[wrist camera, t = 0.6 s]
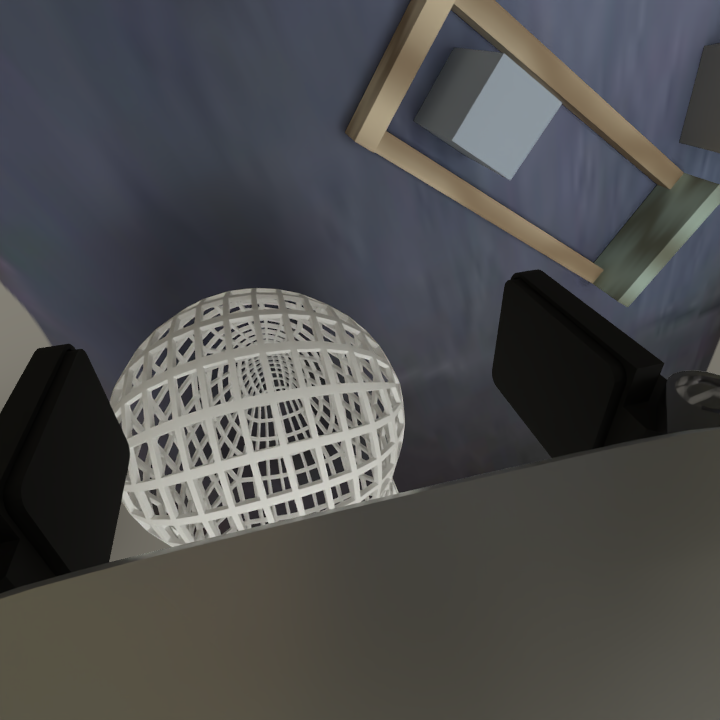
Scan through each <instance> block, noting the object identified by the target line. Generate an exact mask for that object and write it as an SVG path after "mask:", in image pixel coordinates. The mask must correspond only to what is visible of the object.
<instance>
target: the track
mask: <svg viewBox="0 0 720 720" xmlns="http://www.w3.org/2000/svg"><path fill="white" fill-rule="evenodd" d="M450 10H452V11H453V12H454V13H456V14H457V15H458V16H459V17H460V18H461V19H463V20H464V21H465V22H466V23H467V24H469V25H470V26H471V27H472V28H473V29H474V30H476V31H477V32H478V33H479V34H480V35H481V36H483V37H484V38H485V39H486V40H487V41H489V42H490V43H491V44H492V45H493V46H494V47H496V48H497V49H498V50H499V51H500V52H502V53H504V54H506V55H507V56H508V57H509V58H510V59H511V60H513V61H514V62H515V63H516V64H517V65H518V66H520V67H521V68H522V69H523V70H524V71H526V72H527V73H528V74H529V75H530V76H531V77H533V78H534V79H535V80H536V81H537V82H538V83H540V84H541V85H542V86H543V87H544V88H546V89H547V90H548V91H549V92H550V93H551V94H553V95H554V96H555V97H556V98H557V99H558V100H560V101H561V102H562V104H563V105H564V106H565V107H566V108H568V109H569V110H570V111H571V112H572V113H573V114H575V115H576V116H577V117H578V118H579V119H580V120H582V121H583V122H584V123H585V124H586V125H588V126H589V127H590V128H591V129H592V130H593V131H595V132H596V133H597V134H598V135H599V136H601V137H602V138H603V139H604V140H605V141H606V142H608V143H609V144H610V145H611V146H612V147H614V148H615V149H616V150H617V151H618V152H619V153H621V154H622V155H623V156H624V157H625V158H626V159H628V160H629V161H630V162H631V163H632V164H634V165H635V166H636V167H637V168H638V169H639V170H641V171H642V172H643V173H644V174H645V175H647V176H648V177H649V178H650V179H651V180H652V181H654V182H655V183H656V184H657V186H656V187H655V188H654V189H653V191H652V192H651V193H650V194H649V196H648V197H647V198H646V199H645V201H644V202H643V203H642V204H641V205H640V207H639V208H638V209H637V210H636V212H635V213H634V214H633V215H632V217H631V218H630V219H629V220H628V222H627V223H626V224H625V225H624V226H623V228H622V229H621V230H620V231H619V233H618V234H617V235H616V236H615V238H614V239H613V240H612V241H611V242H610V244H609V245H608V246H607V247H606V249H605V250H604V251H603V252H602V254H601V255H600V256H599V257H598V259H597V260H596V261H595V262H594V263H592V262H591V261H589V260H588V259H586V258H585V257H583V256H581V255H580V254H578V253H577V252H575V251H574V250H572V249H570V248H569V247H567V246H566V245H564V244H563V243H561V242H560V241H558V240H556V239H555V238H553V237H552V236H550V235H549V234H547V233H545V232H544V231H542V230H541V229H539V228H538V227H536V226H534V225H533V224H531V223H530V222H528V221H527V220H525V219H523V218H522V217H520V216H519V215H517V214H516V213H514V212H512V211H511V210H509V209H508V208H506V207H505V206H503V205H501V204H500V203H498V202H497V201H495V200H494V199H492V198H491V197H489V196H487V195H486V194H484V193H483V192H481V191H480V190H478V189H476V188H475V187H473V186H472V185H470V184H469V183H467V182H465V181H464V180H462V179H461V178H459V177H458V176H456V175H454V174H453V173H451V172H450V171H448V170H447V169H445V168H443V167H442V166H440V165H439V164H437V163H436V162H434V161H432V160H431V159H429V158H428V157H426V156H425V155H423V154H422V153H420V152H418V151H417V150H415V149H414V148H412V147H411V146H409V145H407V144H406V143H404V142H403V141H401V140H400V139H398V138H396V137H395V136H393V135H392V134H390V133H389V132H387V131H386V129H387V128H388V126H389V124H390V122H391V120H392V118H393V116H394V114H395V113H396V111H397V109H398V107H399V105H400V103H401V101H402V100H403V98H404V96H405V94H406V92H407V90H408V88H409V86H410V85H411V83H412V81H413V79H414V77H415V75H416V73H417V71H418V70H419V68H420V66H421V64H422V62H423V60H424V58H425V56H426V55H427V53H428V51H429V49H430V47H431V45H432V43H433V41H434V40H435V38H436V36H437V34H438V32H439V30H440V28H441V26H442V25H443V23H444V21H445V19H446V17H447V15H448V13H449V12H450ZM345 133H346V134H347V135H348V136H349V137H350V138H351V139H353V140H354V141H355V142H357V143H358V144H360V145H362V146H363V147H365V148H367V149H368V150H370V151H372V152H373V153H374V152H376V153H377V154H379V155H380V156H382V157H384V158H385V159H387V160H389V161H390V162H392V163H394V164H395V165H397V166H399V167H400V168H402V169H404V170H405V171H407V172H409V173H410V174H412V175H414V176H415V177H417V178H419V179H420V180H422V181H423V182H425V183H427V184H428V185H430V186H432V187H433V188H435V189H437V190H438V191H440V192H442V193H443V194H445V195H447V196H448V197H450V198H452V199H453V200H455V201H457V202H458V203H460V204H462V205H463V206H465V207H467V208H468V209H470V210H471V211H473V212H475V213H476V214H478V215H480V216H481V217H483V218H485V219H486V220H488V221H490V222H491V223H493V224H495V225H496V226H498V227H500V228H501V229H503V230H505V231H506V232H508V233H510V234H511V235H513V236H515V237H516V238H518V239H519V240H521V241H523V242H524V243H526V244H528V245H529V246H531V247H533V248H534V249H536V250H538V251H539V252H541V253H543V254H544V255H546V256H548V257H549V258H551V259H553V260H554V261H556V262H558V263H559V264H561V265H563V266H564V267H566V268H567V269H569V270H571V271H572V272H574V273H576V274H577V275H579V276H581V277H582V278H584V279H586V280H587V281H589V282H591V283H592V284H594V285H595V286H597V287H598V288H599V289H601V290H602V291H604V292H605V293H607V294H608V295H609V296H611V297H612V298H614V299H615V300H617V301H618V302H620V303H621V304H623V305H625V306H626V307H629V305H630V304H631V303H632V302H633V301H634V300H635V299H636V297H637V296H638V295H639V294H640V293H641V292H642V291H643V290H644V288H645V287H646V286H647V285H648V284H649V283H650V282H651V281H652V279H653V278H654V277H655V276H656V275H657V274H658V273H659V271H660V270H661V269H662V268H663V267H664V266H665V265H666V264H667V262H668V261H669V260H670V259H671V258H672V257H673V256H674V254H675V253H676V252H677V251H678V250H679V249H680V248H681V247H682V245H683V244H684V243H685V242H686V241H687V240H688V239H689V237H690V236H691V235H692V234H693V233H694V232H695V231H696V230H697V228H698V227H699V226H700V225H701V224H702V223H703V222H704V221H705V219H706V218H707V217H708V216H709V215H710V214H711V213H712V211H713V210H714V209H715V208H716V207H717V206H718V205H719V204H720V185H719V184H716V183H713V182H710V181H707V180H704V179H701V178H698V177H695V176H692V175H689V174H686V173H683V172H682V171H681V170H680V169H679V168H678V167H677V166H676V165H675V164H674V163H673V162H671V161H670V160H669V159H668V158H667V157H666V156H665V155H664V154H663V153H662V152H660V151H659V150H658V149H657V148H656V147H655V146H654V145H653V144H652V143H651V142H649V141H648V140H647V139H646V138H645V137H644V136H643V135H642V134H641V133H640V132H639V131H637V130H636V129H635V128H634V127H633V126H632V125H631V124H630V123H629V122H628V121H626V120H625V119H624V118H623V117H622V116H621V115H620V114H619V113H618V112H617V111H615V110H614V109H613V108H612V107H611V106H610V105H609V104H608V103H607V102H606V101H605V100H603V99H602V98H601V97H600V96H599V95H598V94H597V93H596V92H595V91H594V90H592V89H591V88H590V87H589V86H588V85H587V84H586V83H585V82H584V81H583V80H581V79H580V78H579V77H578V76H577V75H576V74H575V73H574V72H573V71H572V70H571V69H569V68H568V67H567V66H566V65H565V64H564V63H563V62H562V61H561V60H560V59H558V58H557V57H556V56H555V55H554V54H553V53H552V52H551V51H550V50H549V49H547V48H546V47H545V46H544V45H543V44H542V43H541V42H540V41H539V40H538V39H537V38H535V37H534V36H533V35H532V34H531V33H530V32H529V31H528V30H527V29H526V28H524V27H523V26H522V25H521V24H520V23H519V22H518V21H517V20H516V19H515V18H514V17H512V16H511V15H510V14H509V13H508V12H507V11H506V10H505V9H504V8H503V7H501V6H500V5H499V4H498V3H497V2H496V1H495V0H411V1H410V3H409V5H408V7H407V9H406V11H405V13H404V15H403V17H402V19H401V21H400V23H399V25H398V27H397V29H396V31H395V33H394V35H393V37H392V39H391V41H390V43H389V45H388V47H387V49H386V51H385V53H384V55H383V57H382V59H381V61H380V63H379V65H378V67H377V69H376V71H375V73H374V75H373V77H372V79H371V81H370V83H369V85H368V87H367V89H366V91H365V93H364V95H363V97H362V99H361V101H360V103H359V105H358V107H357V109H356V111H355V113H354V115H353V117H352V119H351V121H350V123H349V125H348V127H347V129H346V131H345Z"/></svg>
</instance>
